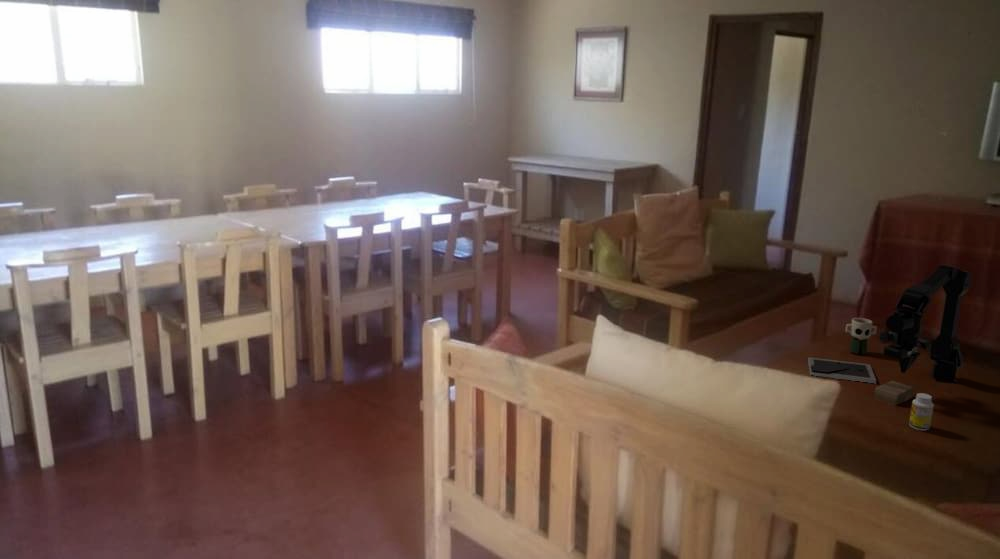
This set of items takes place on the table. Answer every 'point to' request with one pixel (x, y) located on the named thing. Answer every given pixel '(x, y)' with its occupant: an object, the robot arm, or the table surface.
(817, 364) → the picture frame
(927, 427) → the supplement bottle
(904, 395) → the streaky grey slab
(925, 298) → the robot arm
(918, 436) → the table surface
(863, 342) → the character mug
